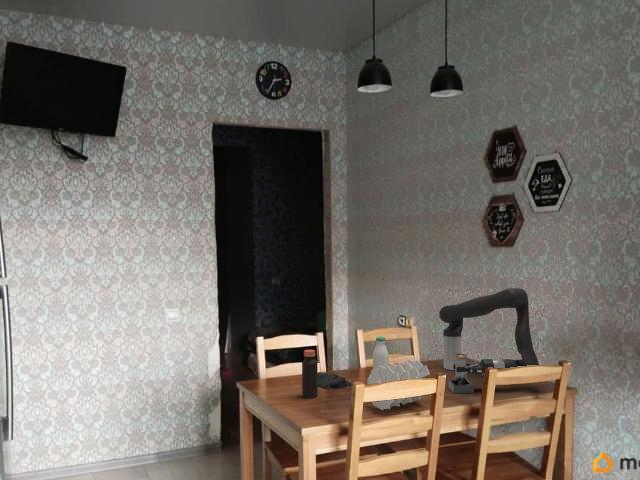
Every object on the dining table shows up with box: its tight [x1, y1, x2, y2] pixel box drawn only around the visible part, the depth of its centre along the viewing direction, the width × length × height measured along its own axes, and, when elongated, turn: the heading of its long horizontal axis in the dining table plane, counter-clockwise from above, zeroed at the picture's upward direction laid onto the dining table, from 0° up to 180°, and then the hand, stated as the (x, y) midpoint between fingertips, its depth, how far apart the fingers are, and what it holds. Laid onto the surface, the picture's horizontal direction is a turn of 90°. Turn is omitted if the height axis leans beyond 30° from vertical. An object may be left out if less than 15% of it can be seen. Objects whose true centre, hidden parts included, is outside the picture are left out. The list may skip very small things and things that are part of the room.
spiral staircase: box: [366, 358, 430, 411], centre depth 239 cm, size 18×18×25 cm
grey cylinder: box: [455, 353, 468, 385], centre depth 260 cm, size 5×5×14 cm
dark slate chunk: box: [318, 371, 353, 390], centre depth 276 cm, size 15×22×5 cm
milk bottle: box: [372, 336, 390, 370], centre depth 284 cm, size 8×8×20 cm
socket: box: [448, 379, 475, 394], centre depth 260 cm, size 9×9×4 cm
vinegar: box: [301, 349, 319, 399], centre depth 253 cm, size 7×7×20 cm
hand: (455, 368), depth 260 cm, fingers closed on grey cylinder, 4 cm apart
